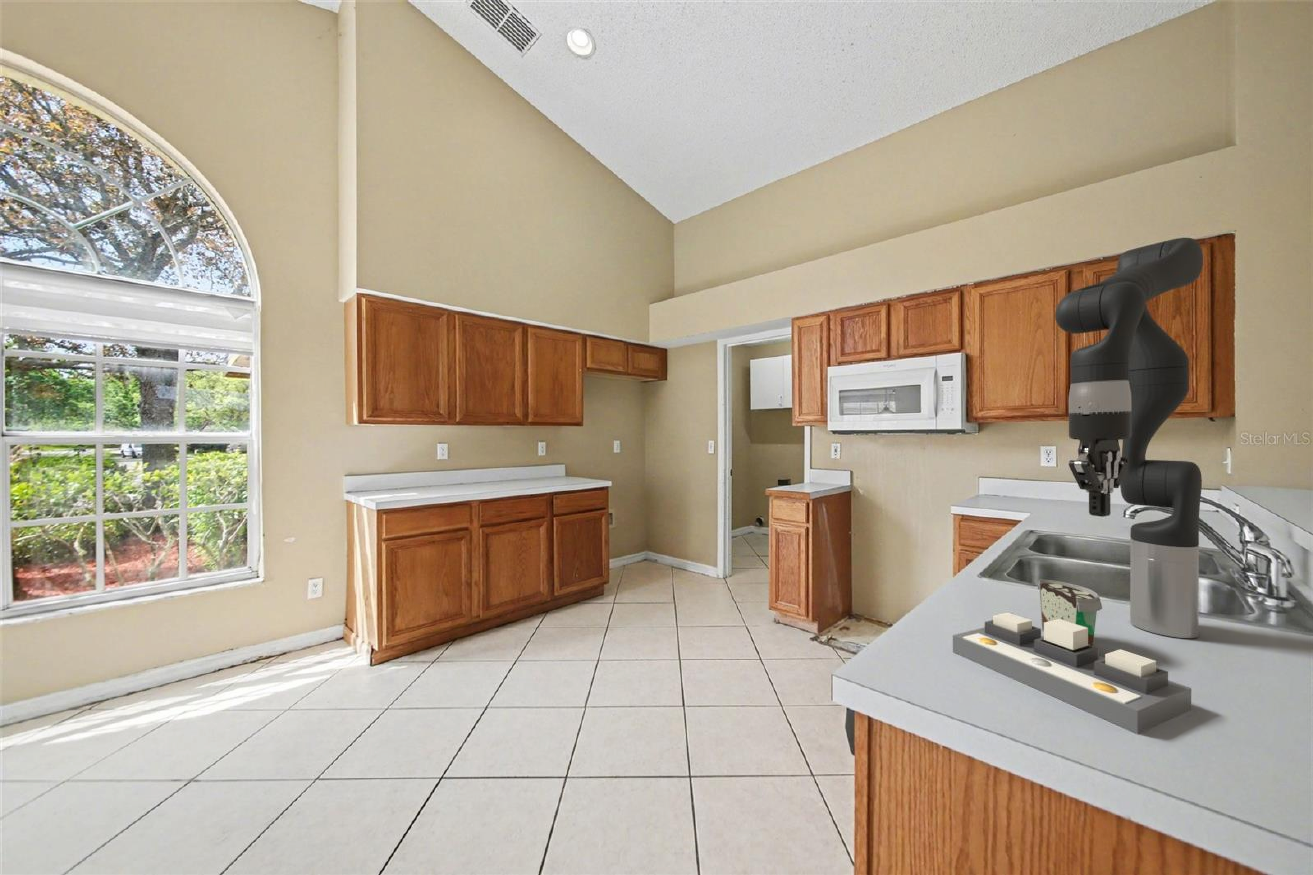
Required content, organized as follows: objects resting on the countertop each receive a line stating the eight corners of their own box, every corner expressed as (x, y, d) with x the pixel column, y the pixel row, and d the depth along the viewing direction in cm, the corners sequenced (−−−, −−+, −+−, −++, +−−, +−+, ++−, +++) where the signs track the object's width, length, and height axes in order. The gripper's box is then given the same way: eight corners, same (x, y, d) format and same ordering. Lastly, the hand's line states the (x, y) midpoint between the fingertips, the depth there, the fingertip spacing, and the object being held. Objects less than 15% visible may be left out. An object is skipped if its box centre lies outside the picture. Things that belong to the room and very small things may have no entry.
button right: (1120, 667, 72) (1120, 649, 72) (1156, 680, 68) (1156, 661, 68) (1105, 673, 70) (1105, 654, 70) (1141, 686, 66) (1141, 666, 66)
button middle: (1058, 635, 79) (1058, 618, 79) (1087, 645, 75) (1088, 628, 75) (1043, 639, 78) (1043, 622, 78) (1072, 650, 74) (1073, 632, 74)
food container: (1120, 660, 81) (1121, 602, 81) (1079, 657, 82) (1079, 600, 82) (1073, 631, 93) (1073, 580, 93) (1037, 628, 94) (1037, 578, 94)
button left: (1007, 627, 86) (1007, 612, 86) (1031, 636, 83) (1031, 620, 83) (993, 631, 85) (993, 615, 85) (1017, 640, 81) (1017, 624, 81)
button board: (1003, 638, 90) (1003, 612, 90) (1191, 709, 67) (1191, 674, 67) (952, 652, 85) (952, 624, 85) (1137, 734, 62) (1137, 695, 61)
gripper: (1093, 410, 84) (1093, 508, 84) (1048, 411, 79) (1049, 516, 79) (1150, 408, 77) (1151, 515, 77) (1105, 409, 72) (1106, 524, 72)
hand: (1099, 515), depth 78 cm, fingers closed
